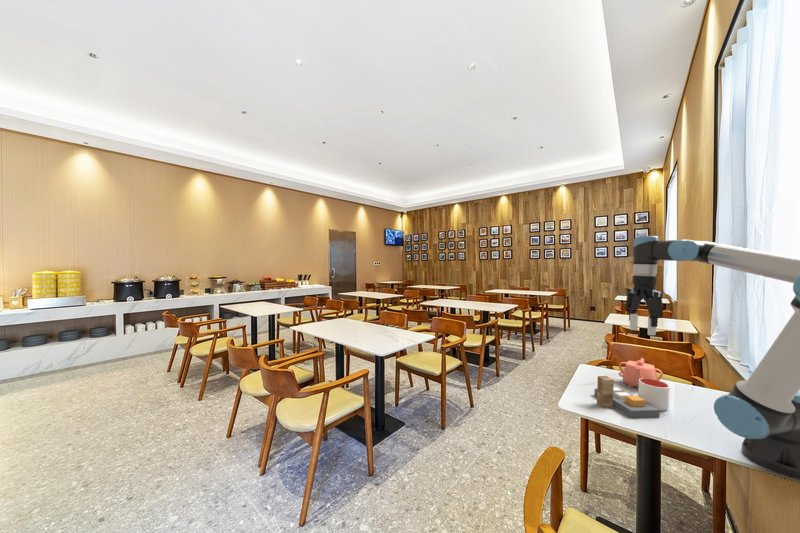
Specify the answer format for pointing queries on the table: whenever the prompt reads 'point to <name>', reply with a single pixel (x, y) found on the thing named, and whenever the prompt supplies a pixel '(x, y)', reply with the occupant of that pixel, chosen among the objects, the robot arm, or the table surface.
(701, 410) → the table surface
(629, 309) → the robot arm
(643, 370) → the teapot
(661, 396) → the cup
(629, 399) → the orange rectangular block
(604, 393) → the oak post
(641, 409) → the panel
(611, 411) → the table surface
